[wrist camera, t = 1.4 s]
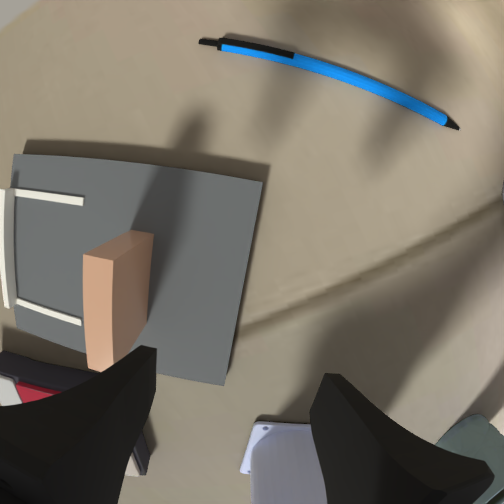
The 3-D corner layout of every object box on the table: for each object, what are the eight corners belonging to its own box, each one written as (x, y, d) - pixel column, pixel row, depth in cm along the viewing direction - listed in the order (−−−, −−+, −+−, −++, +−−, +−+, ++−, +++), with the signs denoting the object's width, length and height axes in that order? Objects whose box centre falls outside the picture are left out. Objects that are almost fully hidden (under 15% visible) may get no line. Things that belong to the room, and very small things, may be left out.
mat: (261, 182, 18) (264, 182, 16) (224, 377, 21) (223, 396, 19) (22, 154, 17) (3, 153, 14) (23, 323, 20) (9, 333, 18)
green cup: (411, 467, 26) (444, 536, 14) (457, 409, 23) (510, 479, 12) (459, 458, 27) (493, 512, 15) (501, 404, 24) (547, 457, 13)
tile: (153, 233, 17) (113, 260, 11) (146, 323, 19) (114, 376, 13) (128, 229, 17) (80, 253, 11) (124, 317, 19) (85, 367, 13)
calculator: (146, 482, 20) (22, 449, 19) (152, 451, 25) (36, 426, 23) (116, 403, 18) (-21, 369, 17) (131, 370, 22) (2, 348, 21)
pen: (202, 38, 16) (200, 31, 15) (457, 125, 17) (466, 123, 16) (198, 49, 16) (196, 42, 15) (456, 135, 17) (465, 134, 16)
